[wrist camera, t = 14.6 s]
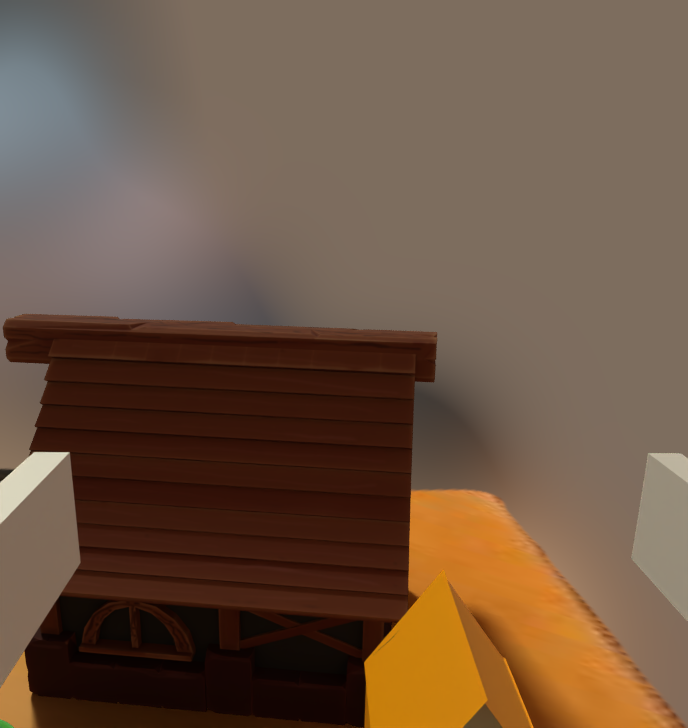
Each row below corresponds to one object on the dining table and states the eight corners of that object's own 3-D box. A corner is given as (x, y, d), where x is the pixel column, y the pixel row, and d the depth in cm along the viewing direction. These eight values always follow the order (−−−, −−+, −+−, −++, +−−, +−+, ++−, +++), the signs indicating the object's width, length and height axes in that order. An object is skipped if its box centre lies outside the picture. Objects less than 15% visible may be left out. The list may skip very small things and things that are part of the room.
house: (415, 558, 69) (430, 304, 62) (422, 789, 42) (451, 384, 35) (116, 537, 72) (96, 291, 65) (-58, 739, 45) (-126, 356, 38)
